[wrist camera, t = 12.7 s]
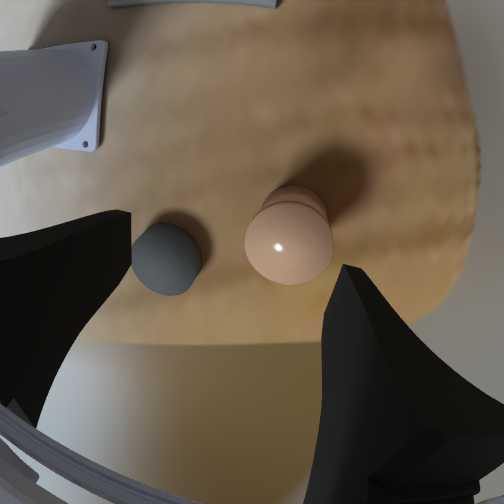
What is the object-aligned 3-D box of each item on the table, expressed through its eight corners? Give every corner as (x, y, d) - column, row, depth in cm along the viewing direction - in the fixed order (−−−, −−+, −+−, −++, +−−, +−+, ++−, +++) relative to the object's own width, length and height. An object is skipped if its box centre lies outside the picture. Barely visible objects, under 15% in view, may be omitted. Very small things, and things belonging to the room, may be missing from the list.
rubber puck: (141, 272, 24) (131, 284, 23) (141, 216, 22) (129, 226, 20) (199, 289, 24) (192, 303, 22) (206, 231, 22) (197, 243, 20)
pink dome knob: (251, 241, 21) (238, 273, 18) (264, 174, 19) (252, 195, 15) (319, 257, 21) (319, 292, 17) (339, 192, 18) (345, 217, 15)
